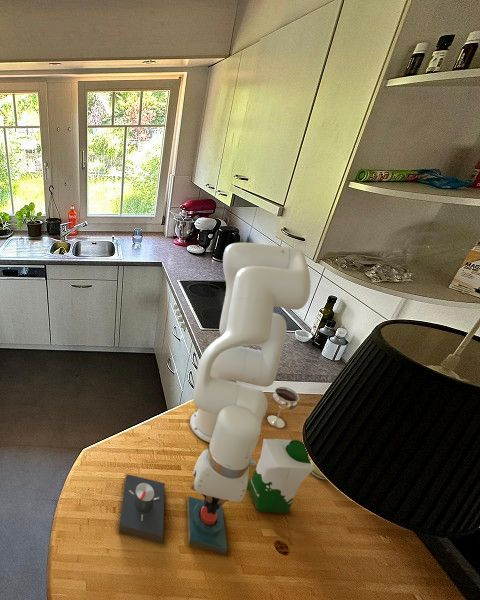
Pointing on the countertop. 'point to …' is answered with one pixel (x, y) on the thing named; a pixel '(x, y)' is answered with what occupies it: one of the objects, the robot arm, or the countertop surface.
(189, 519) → the teal button housing
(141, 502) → the rotary knob
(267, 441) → the milk carton
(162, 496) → the plate
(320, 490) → the countertop surface
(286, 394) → the wineglass
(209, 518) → the button
